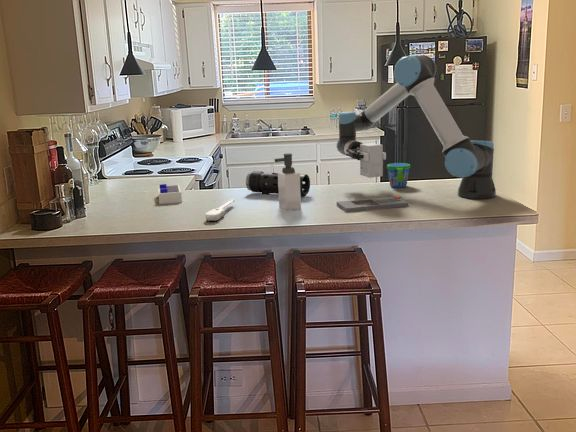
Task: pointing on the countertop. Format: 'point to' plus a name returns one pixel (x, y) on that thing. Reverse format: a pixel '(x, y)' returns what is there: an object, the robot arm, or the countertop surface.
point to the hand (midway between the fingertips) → (376, 156)
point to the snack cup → (398, 174)
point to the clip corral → (170, 195)
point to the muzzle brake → (272, 183)
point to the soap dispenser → (288, 185)
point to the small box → (372, 160)
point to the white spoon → (217, 212)
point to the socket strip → (378, 203)
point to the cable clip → (163, 188)
